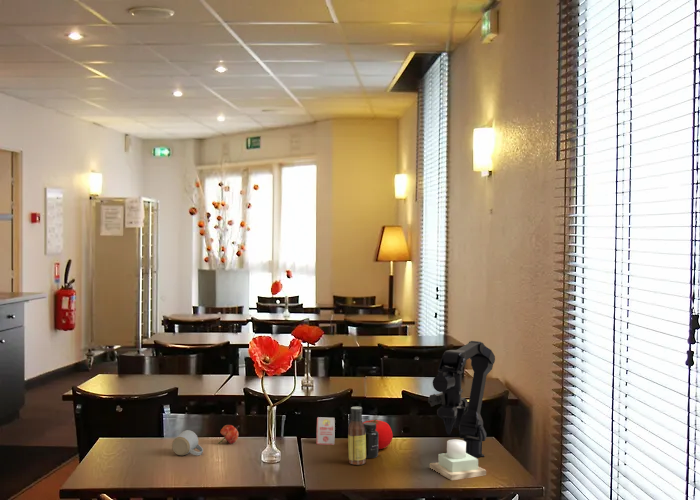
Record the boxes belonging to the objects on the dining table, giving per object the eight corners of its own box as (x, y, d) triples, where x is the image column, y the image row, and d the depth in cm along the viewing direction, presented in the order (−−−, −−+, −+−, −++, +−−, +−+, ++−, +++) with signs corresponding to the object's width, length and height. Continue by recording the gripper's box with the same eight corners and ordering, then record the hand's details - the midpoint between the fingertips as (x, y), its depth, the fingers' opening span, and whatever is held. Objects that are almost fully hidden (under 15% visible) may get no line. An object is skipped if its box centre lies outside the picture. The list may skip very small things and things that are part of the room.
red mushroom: (223, 452, 299) (244, 435, 301) (211, 436, 299) (233, 420, 301) (224, 448, 307) (244, 432, 308) (212, 433, 307) (233, 417, 308)
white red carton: (317, 441, 308) (317, 416, 308) (334, 442, 308) (334, 416, 308) (316, 444, 305) (316, 418, 304) (333, 444, 304) (334, 419, 304)
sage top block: (463, 461, 281) (463, 451, 281) (478, 469, 271) (478, 459, 271) (438, 463, 277) (438, 454, 277) (452, 472, 268) (452, 462, 268)
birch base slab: (463, 465, 283) (463, 458, 283) (486, 477, 271) (486, 470, 271) (429, 470, 277) (429, 463, 277) (451, 482, 265) (451, 475, 265)
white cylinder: (458, 452, 279) (458, 438, 279) (469, 457, 273) (469, 443, 273) (443, 454, 276) (443, 440, 276) (453, 460, 270) (454, 445, 270)
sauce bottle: (368, 462, 283) (369, 406, 282) (361, 466, 277) (362, 410, 277) (352, 459, 286) (353, 404, 285) (344, 464, 280) (345, 408, 279)
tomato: (399, 446, 303) (399, 419, 303) (382, 454, 292) (382, 426, 292) (367, 440, 311) (367, 414, 311) (349, 448, 300) (350, 421, 300)
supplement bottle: (376, 459, 286) (377, 426, 286) (358, 458, 288) (358, 425, 287) (379, 454, 293) (380, 421, 293) (361, 452, 295) (362, 420, 294)
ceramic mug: (170, 455, 286) (170, 434, 286) (179, 449, 294) (179, 428, 294) (198, 458, 284) (198, 437, 284) (206, 452, 292) (206, 431, 292)
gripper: (438, 379, 290) (437, 422, 290) (423, 389, 273) (422, 434, 273) (468, 382, 285) (467, 425, 286) (454, 393, 268) (453, 438, 269)
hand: (452, 430), depth 279 cm, fingers open, 9 cm apart
